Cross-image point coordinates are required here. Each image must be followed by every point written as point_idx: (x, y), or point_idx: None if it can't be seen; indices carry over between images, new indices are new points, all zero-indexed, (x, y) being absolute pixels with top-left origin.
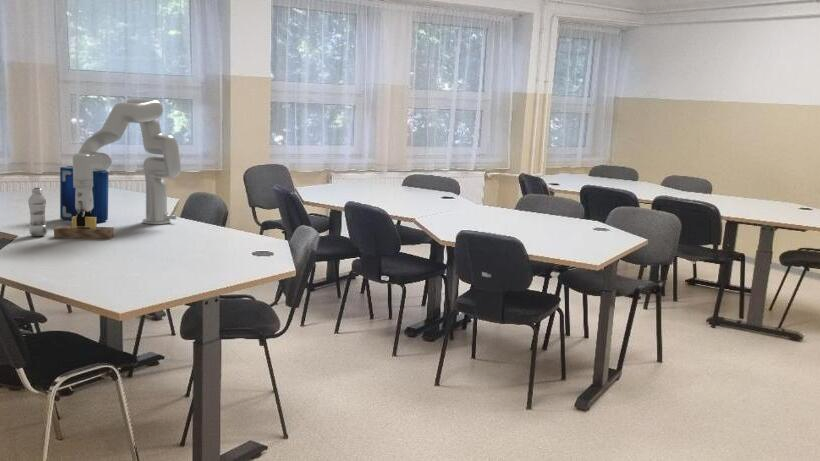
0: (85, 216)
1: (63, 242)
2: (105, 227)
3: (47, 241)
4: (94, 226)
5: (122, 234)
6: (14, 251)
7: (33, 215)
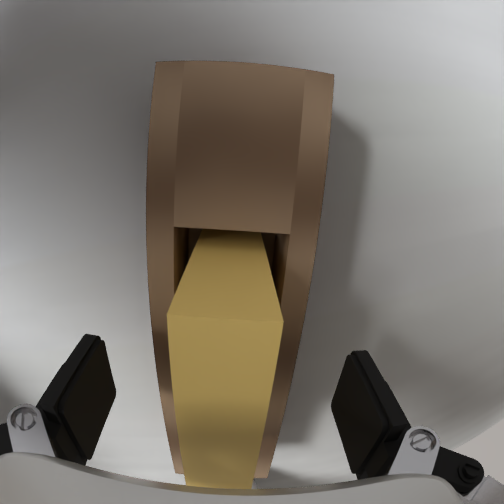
0: (93, 422)
1: (394, 372)
2: (176, 148)
3: None
4: (267, 267)
5: (86, 51)
6: (481, 425)
7: None
